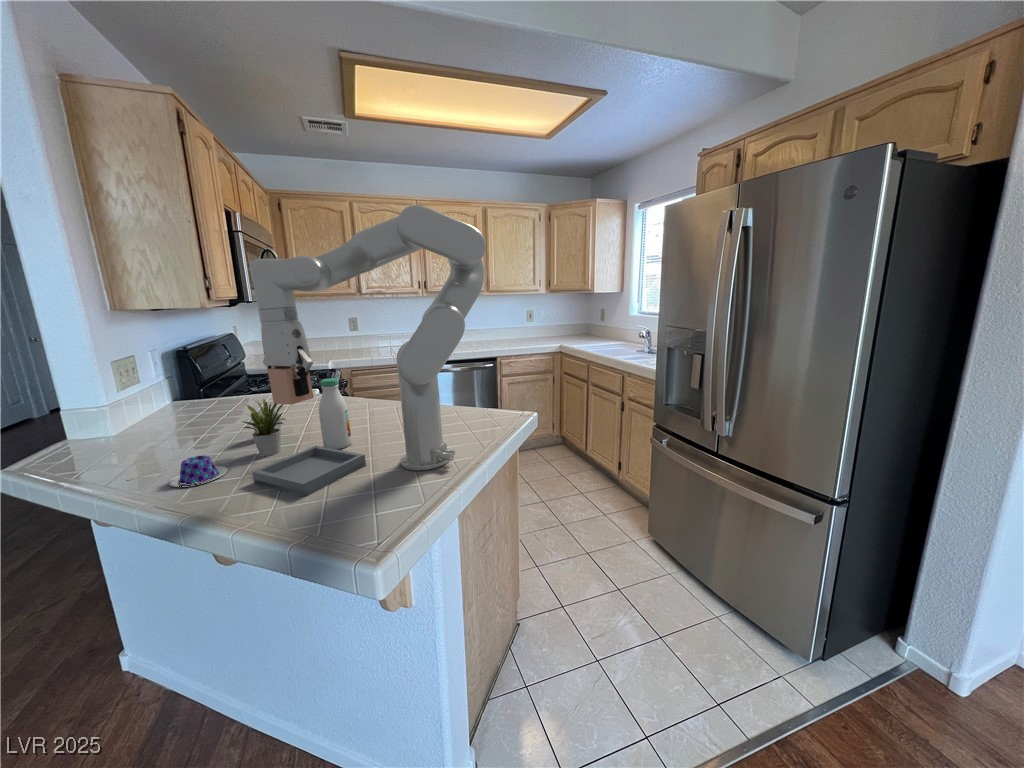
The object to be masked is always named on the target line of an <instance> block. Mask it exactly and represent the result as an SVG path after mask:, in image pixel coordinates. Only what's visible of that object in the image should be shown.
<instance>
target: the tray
mask: <svg viewBox="0 0 1024 768" xmlns="http://www.w3.org/2000/svg"><path fill="white" fill-rule="evenodd" d="M365 456H366V455H365V454H363V453H358V452H353V451H347V450H342V449H337V450H336V449H331V448H325V447H324V446H320V445H319V446H318V445H314V446H313V447H312V446H311V447H309V448H306V449H305V450H302V451H299V452H297V453H295V454H292V455H290V456H288V457H285V458H283V459H280V460H277V461H275V462H272V463H270V464H268V465H265V466H262V467H260V468H258V469H255V470H253V471H251V472H252V478H253V484H255V485H260V486H264V487H268V488H271V489H275V490H279V491H281V492H282V491H283V492H286V493H289V494H290V493H291V494H293V493H294V495H297V494H298V496H302V497H308V496H310V495H312V494H314V493H316V492H317V491H319V490H321V489H323V488H325V487H327V486H329V485H331V484H333V483H335V482H337V481H339V480H340V479H342V478H345V477H346V476H349V475H350V473H351V474H352V473H354V472H357V471H358V470H360V469H362V468H364V467H366V466H367V462H366V457H365ZM363 466H364V467H363ZM348 474H349V475H348ZM344 476H345V477H344ZM338 479H339V480H338Z"/></svg>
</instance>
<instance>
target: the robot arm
mask: <svg viewBox="0 0 1024 768" xmlns="http://www.w3.org/2000/svg"><path fill="white" fill-rule="evenodd" d="M486 247H487V244H486V239H485V237H484V236H483V233H482V232H481V231H480V230H479V229H478V228H476V227H475V226H472V225H471V224H469V223H466V222H464V221H461V220H458V219H456V218H454V217H451V216H449V215H446V214H445V213H443V212H439V211H437V210H434V209H432V208H430V207H427V206H424V205H420V204H412V205H408V206H406V207H405V208H403V209H402V211H401V212H400V213H399V215H398V216H395V217H392V218H390V219H388V220H384V221H382V222H380V223H378V224H375V225H373V226H370V227H368V228H365V229H362V230H360V231H358V232H356V233H355V234H354V235H352V237H351V238H350V239H349V240H348V241H347V242H345V243H344V244H342V245H341V246H339V247H336V248H335V249H333V250H330V251H328V252H326V253H323V254H320V255H318V256H315V257H312V256H308V255H300V256H294V257H288V258H260V259H254V260H252V261H251V262H250V273H251V274H250V275H251V278H252V279H251V280H252V284H253V289H254V295H255V299H256V300H255V301H256V305H257V309H258V310H257V311H258V316H259V320H260V325H261V327H260V329H261V341H262V343H261V345H262V351H263V356H264V358H263V360H262V364H264V366H265V368H266V369H270V368H276V367H290V368H292V373H293V375H294V377H295V379H294V380H293V382H294V387H295V393H296V396H298V397H299V396H303V395H306V394H309V387H308V381H307V377H308V373H310V370H311V367H313V364H314V362H313V360H312V359H311V358H312V357H311V353H310V349H309V344H308V339H307V336H306V333H305V330H304V327H303V324H302V323H301V321H299V316H298V311H297V304H296V300H295V299H296V298H295V292H294V291H297V292H298V291H299V292H300V291H301V292H312V293H313V292H321V291H325V290H326V289H329V288H332V287H334V286H337V285H339V284H341V283H344V282H346V281H348V280H351V279H353V278H355V277H357V276H360V275H362V274H365V273H369V272H372V271H373V270H375V269H378V268H380V267H382V266H384V265H387V264H389V263H391V262H394V261H396V260H399V259H401V258H405V257H406V256H409V255H411V254H413V253H416V252H418V251H421V250H423V249H424V250H427V251H428V252H431V253H433V254H436V255H439V256H441V257H444V258H446V259H447V260H448V262H449V265H450V270H449V276H448V278H447V279H446V280H445V283H444V284H443V286H442V288H441V289H440V291H439V292H438V294H437V295H436V297H435V298H434V299H433V302H432V303H431V304H430V305H429V307H427V309H426V310H425V311H424V313H423V315H422V317H421V322H420V323H419V325H418V326H417V328H416V330H415V331H414V333H413V334H412V336H411V337H410V339H409V340H408V341H405V342H404V343H403V344H402V345H401V346H400V348H399V349H398V351H397V354H396V368H397V373H398V375H397V376H398V386H399V395H400V404H401V407H400V408H401V414H402V425H403V427H402V428H403V435H404V445H405V454H404V455H403V456H402V457H401V458H400V466H402V467H403V468H404V469H406V470H411V471H429V470H434V469H437V468H440V467H442V466H444V465H446V464H447V463H448V462H453V460H454V458H455V454H456V452H455V450H454V449H453V450H452V449H448V448H447V447H448V446H447V442H444V441H443V440H444V439H443V427H442V413H441V402H440V392H439V391H440V389H439V379H438V375H439V373H440V372H441V371H442V369H443V367H444V366H445V365H446V363H447V361H448V360H449V358H450V357H451V356H452V354H453V353H454V351H455V350H456V348H457V346H458V345H459V343H460V342H461V340H462V338H463V336H464V334H465V330H466V321H465V319H466V317H467V316H468V314H469V313H470V312H471V309H472V308H473V306H474V304H475V303H476V301H477V299H478V297H479V295H480V294H481V291H482V289H483V286H484V280H485V269H484V268H485V267H484V263H483V260H482V259H483V257H484V255H485V253H486V249H487V248H486ZM296 364H297V365H296ZM297 368H300V370H299V372H298V370H297Z"/></svg>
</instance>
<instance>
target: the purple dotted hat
mask: <svg viewBox="0 0 1024 768" xmlns="http://www.w3.org/2000/svg"><path fill="white" fill-rule="evenodd" d="M218 471H220V475H219V472H218ZM227 472H228V468H227V467H226V466H221V465H219V466H218V465H215V463H214V461H213V460H212V458H211V457H210V456H209V455H205V454H204V455H195V456H192V457H189V458H186V459H184V460H182V462H180V472H179V475H176V476H175V477H173V478H171V479H170V480H169V481H168V485H169V486H171V487H173V488H186V487H188V486H182V487H181V486H180V487H179V486H173V485H172V484H171V482H172V481H174V480H175V479H177V478H179V477H180V481H179V482H180V483H186V484H192V483H195V482H202V483H201V484H199V483H195V484H197V485H198V486H199V485H202V484H206V483H209V482H211V481H212V482H213V481H214V480H216V479H218V478H220V477H222V476H224V475H225V474H226V473H227ZM218 475H219V476H218ZM215 477H216V478H215ZM213 478H214V479H213ZM208 479H210V481H209V480H208ZM211 479H212V480H211ZM206 480H207V482H206ZM204 481H205V482H204ZM179 482H178V483H179ZM203 482H204V483H203ZM186 484H185V485H186ZM197 485H196V486H197ZM192 486H193V487H194V486H195V485H194V484H192V485H191V486H190V487H192Z"/></svg>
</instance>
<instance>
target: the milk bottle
mask: <svg viewBox="0 0 1024 768" xmlns="http://www.w3.org/2000/svg"><path fill="white" fill-rule="evenodd" d="M320 386H321V387H320V388H321V389H322V394H321V398H320V401H319V404H318V414H319V424H320V431H321V436H322V437H321V439H322V443H323V447H325V448H331V449H336V450H342V449H344V448H348V447H350V446H351V444H352V443H353V442H352V441H353V440H352V434H351V433H352V432H351V426H350V424H351V423H350V417H349V411H348V410H349V409H348V405H347V403H346V400H345V398H344V397H343V395H342V394H341V393H340V390H339V379H338V378H335V377H332V378H330V377H329V378H323V379H321V380H320ZM349 445H350V446H349ZM347 446H348V447H347ZM341 448H342V449H341Z"/></svg>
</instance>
